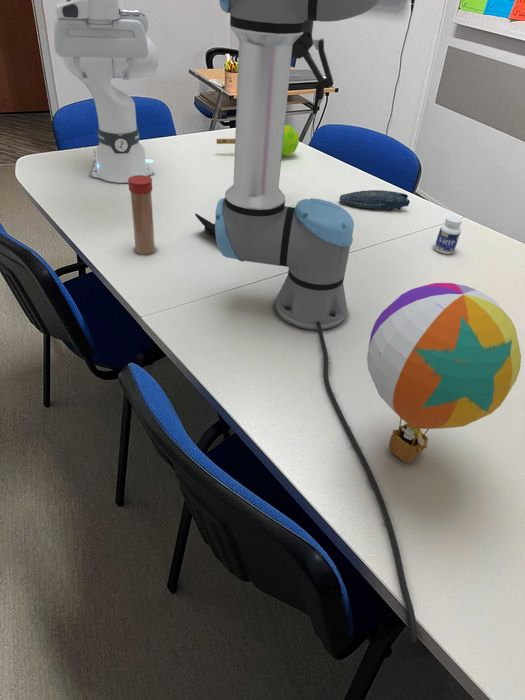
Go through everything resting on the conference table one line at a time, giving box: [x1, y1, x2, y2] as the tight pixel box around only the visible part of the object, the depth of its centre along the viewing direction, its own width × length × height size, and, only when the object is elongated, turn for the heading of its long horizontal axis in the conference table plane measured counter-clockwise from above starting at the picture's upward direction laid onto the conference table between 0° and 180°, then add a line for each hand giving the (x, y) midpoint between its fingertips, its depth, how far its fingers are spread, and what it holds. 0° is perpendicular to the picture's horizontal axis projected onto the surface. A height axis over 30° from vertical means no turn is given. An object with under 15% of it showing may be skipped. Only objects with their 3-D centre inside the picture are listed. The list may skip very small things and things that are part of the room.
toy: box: [366, 282, 522, 464], centre depth 73 cm, size 20×20×30 cm
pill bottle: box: [434, 215, 463, 255], centre depth 137 cm, size 5×5×9 cm
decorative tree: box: [216, 124, 300, 157], centre depth 186 cm, size 18×10×30 cm
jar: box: [129, 191, 156, 256], centre depth 123 cm, size 5×5×17 cm
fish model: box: [339, 189, 411, 211], centre depth 158 cm, size 7×21×5 cm, turn 84°
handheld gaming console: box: [194, 213, 216, 237], centre depth 135 cm, size 12×7×10 cm
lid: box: [128, 175, 153, 194], centre depth 118 cm, size 5×5×2 cm
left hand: (105, 78), depth 121 cm, fingers open, 8 cm apart
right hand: (288, 109), depth 135 cm, fingers open, 13 cm apart
